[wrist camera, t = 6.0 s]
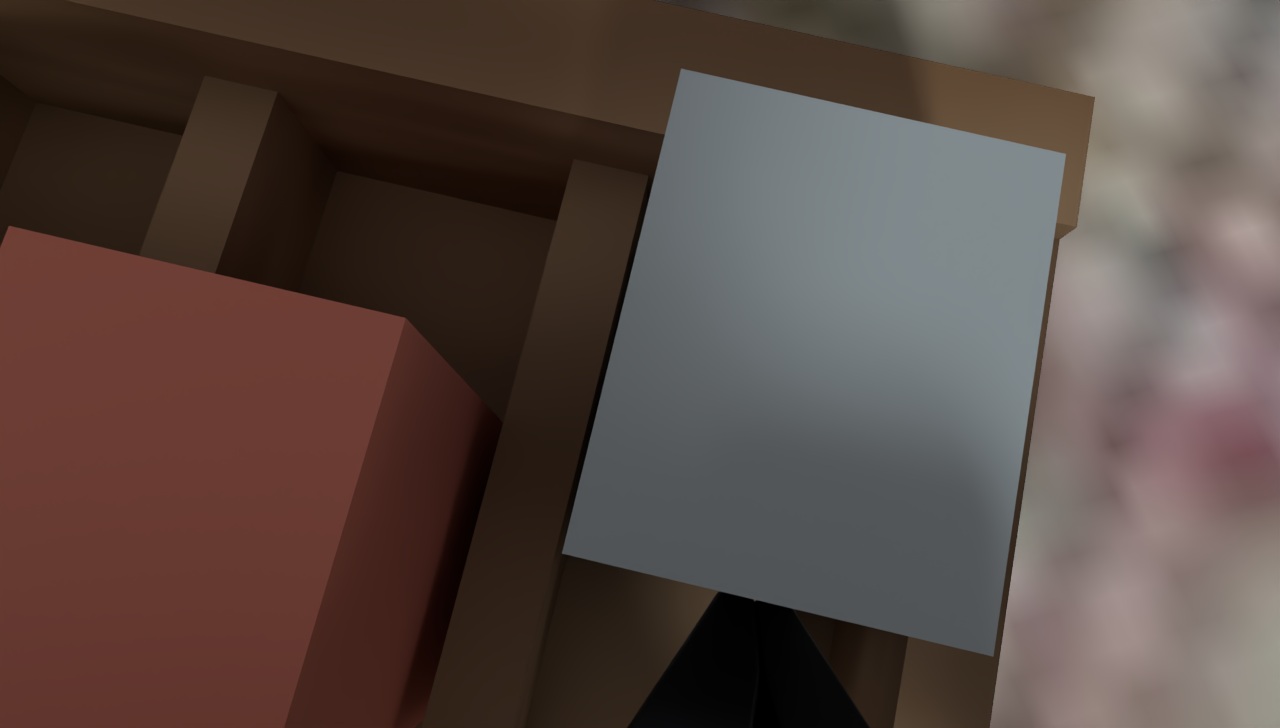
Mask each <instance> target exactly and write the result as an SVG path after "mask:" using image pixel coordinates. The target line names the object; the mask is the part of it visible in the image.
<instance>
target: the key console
mask: <svg viewBox="0 0 1280 728" xmlns="http://www.w3.org/2000/svg"><path fill="white" fill-rule="evenodd" d="M681 69H685V70H690V71H694V72H699V73H703V74H708V75H712V76H717V77H721V78H726V79H730V80H735V81H739V82H744V83H748V84H753V85H757V86H762V87H766V88H771V89H775V90H780V91H784V92H789V93H793V94H798V95H802V96H807V97H811V98H816V99H820V100H825V101H829V102H834V103H838V104H843V105H847V106H852V107H856V108H861V109H865V110H870V111H874V112H879V113H884V114H888V115H893V116H897V117H902V118H906V119H911V120H915V121H920V122H924V123H929V124H933V125H938V126H942V127H947V128H951V129H956V130H960V131H965V132H969V133H974V134H978V135H983V136H987V137H992V138H996V139H1001V140H1005V141H1010V142H1014V143H1019V144H1023V145H1028V146H1032V147H1037V148H1041V149H1046V150H1050V151H1055V152H1059V153H1064V154H1066V158H1065V165H1064V172H1063V179H1062V186H1061V193H1060V200H1059V207H1058V214H1057V221H1056V228H1055V234H1054V241H1053V248H1052V255H1051V262H1050V269H1049V276H1048V283H1047V290H1046V297H1045V304H1044V310H1043V317H1042V324H1041V331H1040V338H1039V345H1038V352H1037V359H1036V366H1035V373H1034V380H1033V386H1032V393H1031V400H1030V407H1029V414H1028V421H1027V428H1026V435H1025V442H1024V449H1023V455H1022V462H1021V469H1020V476H1019V483H1018V490H1017V497H1016V504H1015V511H1014V518H1013V525H1012V531H1011V538H1010V545H1009V552H1008V559H1007V566H1006V573H1005V580H1004V587H1003V594H1002V601H1001V607H1000V614H999V621H998V628H997V635H996V642H995V649H994V656H989V655H984V654H980V653H976V652H972V651H968V650H964V649H959V648H955V647H951V646H947V645H943V644H938V643H934V642H930V641H926V640H922V639H918V638H913V637H909V636H905V635H901V634H897V633H892V632H888V631H884V630H880V629H876V628H872V627H867V626H863V625H859V624H855V623H851V622H846V621H842V620H838V619H834V618H830V617H826V616H821V615H817V614H813V613H809V612H805V611H800V610H796V609H793V610H794V611H795V612H796V614H797V615H798V617H799V619H800V620H801V622H802V623H803V625H804V626H805V628H806V629H807V631H808V632H809V634H810V635H811V637H812V639H813V640H814V642H815V643H816V645H817V646H818V648H819V649H820V651H821V652H822V654H823V655H824V657H825V659H826V660H827V662H828V663H829V665H830V666H831V668H832V669H833V671H834V672H835V674H836V675H837V677H838V679H839V680H840V682H841V683H842V685H843V686H844V688H845V689H846V691H847V692H848V694H849V695H850V697H851V699H852V700H853V702H854V703H855V705H856V706H857V708H858V709H859V711H860V712H861V714H862V715H863V717H864V719H865V720H866V722H867V723H868V725H869V726H870V728H989V727H990V720H991V713H992V706H993V699H994V692H995V685H996V678H997V672H998V665H999V658H1000V651H1001V644H1002V637H1003V630H1004V623H1005V616H1006V609H1007V602H1008V595H1009V588H1010V581H1011V574H1012V567H1013V560H1014V553H1015V546H1016V539H1017V532H1018V525H1019V518H1020V511H1021V504H1022V497H1023V490H1024V483H1025V476H1026V469H1027V462H1028V455H1029V448H1030V441H1031V434H1032V427H1033V420H1034V413H1035V407H1036V400H1037V393H1038V386H1039V379H1040V372H1041V365H1042V358H1043V351H1044V344H1045V337H1046V330H1047V323H1048V316H1049V309H1050V302H1051V295H1052V288H1053V281H1054V274H1055V267H1056V260H1057V253H1058V246H1059V239H1061V238H1062V237H1064V236H1065V235H1066V234H1068V233H1069V232H1071V231H1072V230H1073V229H1075V228H1076V227H1077V221H1078V214H1079V207H1080V200H1081V193H1082V186H1083V178H1084V171H1085V164H1086V157H1087V150H1088V143H1089V135H1090V128H1091V121H1092V114H1093V107H1094V100H1095V97H1091V96H1087V95H1082V94H1078V93H1073V92H1069V91H1064V90H1060V89H1055V88H1051V87H1046V86H1041V85H1037V84H1032V83H1028V82H1023V81H1019V80H1014V79H1010V78H1005V77H1001V76H996V75H991V74H987V73H982V72H978V71H973V70H969V69H964V68H960V67H955V66H950V65H946V64H941V63H937V62H932V61H928V60H923V59H919V58H914V57H910V56H905V55H900V54H896V53H891V52H887V51H882V50H878V49H873V48H869V47H864V46H859V45H855V44H850V43H846V42H841V41H837V40H832V39H828V38H823V37H819V36H814V35H809V34H805V33H800V32H796V31H791V30H787V29H782V28H778V27H773V26H769V25H764V24H759V23H755V22H750V21H746V20H741V19H737V18H732V17H728V16H723V15H718V14H714V13H709V12H705V11H700V10H696V9H691V8H687V7H682V6H678V5H673V4H668V3H664V2H659V1H655V0H0V247H1V244H2V242H3V239H4V237H5V234H6V232H7V229H8V227H9V226H12V227H17V228H21V229H25V230H30V231H34V232H38V233H42V234H47V235H51V236H55V237H60V238H64V239H68V240H73V241H77V242H81V243H85V244H90V245H94V246H98V247H103V248H107V249H111V250H116V251H120V252H124V253H129V254H133V255H137V256H141V257H146V258H150V259H154V260H159V261H163V262H167V263H172V264H176V265H180V266H184V267H189V268H193V269H197V270H202V271H206V272H210V273H215V274H219V275H223V276H228V277H232V278H236V279H240V280H245V281H249V282H253V283H258V284H262V285H266V286H271V287H275V288H279V289H283V290H288V291H292V292H296V293H301V294H305V295H309V296H314V297H318V298H322V299H326V300H331V301H335V302H339V303H344V304H348V305H352V306H357V307H361V308H365V309H370V310H374V311H378V312H382V313H387V314H391V315H395V316H400V317H404V318H406V319H407V320H408V321H409V322H410V323H411V324H412V325H413V326H414V327H415V328H416V329H417V330H418V332H419V333H420V334H421V335H422V336H423V337H424V338H425V339H426V340H427V341H428V342H429V343H430V344H431V346H432V347H433V348H434V349H435V350H436V351H437V352H438V353H439V354H440V355H441V356H442V357H443V358H444V359H445V361H446V362H447V363H448V364H449V365H450V366H451V367H452V368H453V369H454V370H455V371H456V372H457V373H458V375H459V376H460V377H461V378H462V379H463V380H464V381H465V382H466V383H467V384H468V385H469V386H470V387H471V389H472V390H473V391H474V392H475V393H476V394H477V395H478V396H479V397H480V398H481V399H482V400H483V401H484V402H485V404H486V405H487V406H488V407H489V408H490V409H491V410H492V411H493V412H494V413H495V414H496V415H497V416H498V418H499V419H500V420H501V421H502V422H503V425H502V429H501V433H500V436H499V440H498V444H497V447H496V451H495V455H494V459H493V462H492V466H491V470H490V474H489V477H488V481H487V485H486V489H485V492H484V496H483V500H482V504H481V507H480V511H479V515H478V519H477V522H476V526H475V530H474V534H473V537H472V541H471V545H470V549H469V552H468V556H467V560H466V564H465V567H464V571H463V575H462V578H461V582H460V586H459V590H458V593H457V597H456V601H455V605H454V608H453V612H452V616H451V620H450V623H449V627H448V631H447V635H446V638H445V642H444V646H443V650H442V653H441V657H440V661H439V665H438V668H437V672H436V676H435V680H434V683H433V687H432V691H431V695H430V698H429V702H428V706H427V709H426V713H425V717H424V720H423V721H422V722H420V723H419V724H418V725H417V726H416V727H414V728H627V727H628V725H629V724H630V722H631V721H632V719H633V718H634V716H635V715H636V713H637V712H638V710H639V709H640V707H641V706H642V704H643V703H644V701H645V700H646V698H647V697H648V695H649V694H650V692H651V691H652V689H653V688H654V686H655V685H656V683H657V682H658V680H659V679H660V677H661V676H662V674H663V673H664V671H665V670H666V668H667V667H668V665H669V664H670V662H671V661H672V660H673V658H674V657H675V655H676V654H677V652H678V651H679V649H680V648H681V646H682V645H683V643H684V642H685V640H686V639H687V637H688V636H689V634H690V633H691V631H692V630H693V628H694V627H695V625H696V624H697V622H698V621H699V619H700V618H701V616H702V615H703V613H704V612H705V610H706V609H707V607H708V606H709V604H710V603H711V601H712V600H713V598H714V597H715V595H716V594H717V593H718V592H719V591H717V590H713V589H708V588H704V587H700V586H696V585H692V584H687V583H683V582H679V581H675V580H671V579H667V578H662V577H658V576H654V575H650V574H646V573H641V572H637V571H633V570H629V569H625V568H621V567H616V566H612V565H608V564H604V563H600V562H595V561H591V560H587V559H583V558H579V557H574V556H570V555H566V554H562V551H563V547H564V543H565V539H566V535H567V531H568V527H569V523H570V519H571V515H572V511H573V507H574V503H575V498H576V494H577V490H578V486H579V482H580V478H581V474H582V470H583V466H584V462H585V458H586V454H587V450H588V446H589V442H590V437H591V433H592V429H593V425H594V421H595V417H596V413H597V409H598V405H599V401H600V397H601V393H602V389H603V385H604V381H605V376H606V372H607V368H608V364H609V360H610V356H611V352H612V348H613V344H614V340H615V336H616V332H617V328H618V324H619V320H620V315H621V311H622V307H623V303H624V299H625V295H626V291H627V287H628V283H629V279H630V275H631V271H632V267H633V263H634V259H635V255H636V250H637V246H638V242H639V238H640V234H641V230H642V226H643V222H644V218H645V214H646V210H647V206H648V202H649V198H650V194H651V189H652V185H653V181H654V177H655V173H656V169H657V165H658V161H659V157H660V153H661V149H662V145H663V141H664V137H665V133H666V128H667V124H668V120H669V116H670V112H671V108H672V104H673V100H674V96H675V92H676V88H677V84H678V80H679V76H680V72H681ZM755 601H756V600H754V602H755Z"/></svg>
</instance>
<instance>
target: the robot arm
mask: <svg viewBox="0 0 1280 728" xmlns="http://www.w3.org/2000/svg"><path fill="white" fill-rule="evenodd" d="M627 728H870V726H869V725H868V723H867V722H866V720H865V719H864V717H863V715H862V714H861V712H860V711H859V709H858V708H857V706H856V705H855V703H854V702H853V700H852V699H851V697H850V695H849V694H848V692H847V691H846V689H845V688H844V686H843V685H842V683H841V682H840V680H839V679H838V677H837V675H836V674H835V672H834V671H833V669H832V668H831V666H830V665H829V663H828V662H827V660H826V659H825V657H824V655H823V654H822V652H821V651H820V649H819V648H818V646H817V645H816V643H815V642H814V640H813V639H812V637H811V635H810V634H809V632H808V631H807V629H806V628H805V626H804V625H803V623H802V622H801V620H800V619H799V617H798V615H797V614H796V612H795V611H794V610H793V609H792V608H788V607H784V606H779V605H775V604H771V603H767V602H763V601H759V600H756V601H755V602H754V599H750V598H746V597H742V596H738V595H733V594H729V593H725V592H721V591H719V592H718V593H717V594H716V595H715V597H714V598H713V600H712V601H711V603H710V604H709V606H708V607H707V609H706V610H705V612H704V613H703V615H702V616H701V618H700V619H699V621H698V622H697V624H696V625H695V627H694V628H693V630H692V631H691V633H690V634H689V636H688V637H687V639H686V640H685V642H684V643H683V645H682V646H681V648H680V649H679V651H678V652H677V654H676V655H675V657H674V658H673V660H672V661H671V662H670V664H669V665H668V667H667V668H666V670H665V671H664V673H663V674H662V676H661V677H660V679H659V680H658V682H657V683H656V685H655V686H654V688H653V689H652V691H651V692H650V694H649V695H648V697H647V698H646V700H645V701H644V703H643V704H642V706H641V707H640V709H639V710H638V712H637V713H636V715H635V716H634V718H633V719H632V721H631V722H630V724H629V725H628V727H627Z"/></svg>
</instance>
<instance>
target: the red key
mask: <svg viewBox="0 0 1280 728" xmlns="http://www.w3.org/2000/svg"><path fill="white" fill-rule="evenodd" d="M502 425H503V422H502V421H501V420H500V419H499V418H498V416H497V415H496V414H495V413H494V412H493V411H492V410H491V409H490V408H489V407H488V406H487V405H486V404H485V402H484V401H483V400H482V399H481V398H480V397H479V396H478V395H477V394H476V393H475V392H474V391H473V390H472V389H471V387H470V386H469V385H468V384H467V383H466V382H465V381H464V380H463V379H462V378H461V377H460V376H459V375H458V373H457V372H456V371H455V370H454V369H453V368H452V367H451V366H450V365H449V364H448V363H447V362H446V361H445V359H444V358H443V357H442V356H441V355H440V354H439V353H438V352H437V351H436V350H435V349H434V348H433V347H432V346H431V344H430V343H429V342H428V341H427V340H426V339H425V338H424V337H423V336H422V335H421V334H420V333H419V332H418V330H417V329H416V328H415V327H414V326H413V325H412V324H411V323H410V322H409V321H408V320H407V319H406V318H404V317H400V316H395V315H391V314H387V313H382V312H378V311H374V310H370V309H365V308H361V307H357V306H352V305H348V304H344V303H339V302H335V301H331V300H326V299H322V298H318V297H314V296H309V295H305V294H301V293H296V292H292V291H288V290H283V289H279V288H275V287H271V286H266V285H262V284H258V283H253V282H249V281H245V280H240V279H236V278H232V277H228V276H223V275H219V274H215V273H210V272H206V271H202V270H197V269H193V268H189V267H184V266H180V265H176V264H172V263H167V262H163V261H159V260H154V259H150V258H146V257H141V256H137V255H133V254H129V253H124V252H120V251H116V250H111V249H107V248H103V247H98V246H94V245H90V244H85V243H81V242H77V241H73V240H68V239H64V238H60V237H55V236H51V235H47V234H42V233H38V232H34V231H30V230H25V229H21V228H17V227H12V226H9V227H8V229H7V232H6V234H5V237H4V239H3V242H2V244H1V247H0V728H414V727H416V726H417V725H418V724H419V723H420V722H422V721H423V720H424V717H425V713H426V709H427V706H428V702H429V698H430V695H431V691H432V687H433V683H434V680H435V676H436V672H437V668H438V665H439V661H440V657H441V653H442V650H443V646H444V642H445V638H446V635H447V631H448V627H449V623H450V620H451V616H452V612H453V608H454V605H455V601H456V597H457V593H458V590H459V586H460V582H461V578H462V575H463V571H464V567H465V564H466V560H467V556H468V552H469V549H470V545H471V541H472V537H473V534H474V530H475V526H476V522H477V519H478V515H479V511H480V507H481V504H482V500H483V496H484V492H485V489H486V485H487V481H488V477H489V474H490V470H491V466H492V462H493V459H494V455H495V451H496V447H497V444H498V440H499V436H500V433H501V429H502Z"/></svg>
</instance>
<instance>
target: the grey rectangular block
mask: <svg viewBox="0 0 1280 728" xmlns="http://www.w3.org/2000/svg"><path fill="white" fill-rule="evenodd" d="M1065 158H1066V154H1064V153H1059V152H1055V151H1050V150H1046V149H1041V148H1037V147H1032V146H1028V145H1023V144H1019V143H1014V142H1010V141H1005V140H1001V139H996V138H992V137H987V136H983V135H978V134H974V133H969V132H965V131H960V130H956V129H951V128H947V127H942V126H938V125H933V124H929V123H924V122H920V121H915V120H911V119H906V118H902V117H897V116H893V115H888V114H884V113H879V112H874V111H870V110H865V109H861V108H856V107H852V106H847V105H843V104H838V103H834V102H829V101H825V100H820V99H816V98H811V97H807V96H802V95H798V94H793V93H789V92H784V91H780V90H775V89H771V88H766V87H762V86H757V85H753V84H748V83H744V82H739V81H735V80H730V79H726V78H721V77H717V76H712V75H708V74H703V73H699V72H694V71H690V70H685V69H681V72H680V76H679V80H678V84H677V88H676V92H675V96H674V100H673V104H672V108H671V112H670V116H669V120H668V124H667V128H666V133H665V137H664V141H663V145H662V149H661V153H660V157H659V161H658V165H657V169H656V173H655V177H654V181H653V185H652V189H651V194H650V198H649V202H648V206H647V210H646V214H645V218H644V222H643V226H642V230H641V234H640V238H639V242H638V246H637V250H636V255H635V259H634V263H633V267H632V271H631V275H630V279H629V283H628V287H627V291H626V295H625V299H624V303H623V307H622V311H621V315H620V320H619V324H618V328H617V332H616V336H615V340H614V344H613V348H612V352H611V356H610V360H609V364H608V368H607V372H606V376H605V381H604V385H603V389H602V393H601V397H600V401H599V405H598V409H597V413H596V417H595V421H594V425H593V429H592V433H591V437H590V442H589V446H588V450H587V454H586V458H585V462H584V466H583V470H582V474H581V478H580V482H579V486H578V490H577V494H576V498H575V503H574V507H573V511H572V515H571V519H570V523H569V527H568V531H567V535H566V539H565V543H564V547H563V551H562V554H566V555H570V556H574V557H579V558H583V559H587V560H591V561H595V562H600V563H604V564H608V565H612V566H616V567H621V568H625V569H629V570H633V571H637V572H641V573H646V574H650V575H654V576H658V577H662V578H667V579H671V580H675V581H679V582H683V583H687V584H692V585H696V586H700V587H704V588H708V589H713V590H717V591H721V592H725V593H729V594H733V595H738V596H742V597H746V598H750V599H754V600H759V601H763V602H767V603H771V604H775V605H779V606H784V607H788V608H792V609H796V610H800V611H805V612H809V613H813V614H817V615H821V616H826V617H830V618H834V619H838V620H842V621H846V622H851V623H855V624H859V625H863V626H867V627H872V628H876V629H880V630H884V631H888V632H892V633H897V634H901V635H905V636H909V637H913V638H918V639H922V640H926V641H930V642H934V643H938V644H943V645H947V646H951V647H955V648H959V649H964V650H968V651H972V652H976V653H980V654H984V655H989V656H994V649H995V642H996V635H997V628H998V621H999V614H1000V607H1001V601H1002V594H1003V587H1004V580H1005V573H1006V566H1007V559H1008V552H1009V545H1010V538H1011V531H1012V525H1013V518H1014V511H1015V504H1016V497H1017V490H1018V483H1019V476H1020V469H1021V462H1022V455H1023V449H1024V442H1025V435H1026V428H1027V421H1028V414H1029V407H1030V400H1031V393H1032V386H1033V380H1034V373H1035V366H1036V359H1037V352H1038V345H1039V338H1040V331H1041V324H1042V317H1043V310H1044V304H1045V297H1046V290H1047V283H1048V276H1049V269H1050V262H1051V255H1052V248H1053V241H1054V234H1055V228H1056V221H1057V214H1058V207H1059V200H1060V193H1061V186H1062V179H1063V172H1064V165H1065Z"/></svg>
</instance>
